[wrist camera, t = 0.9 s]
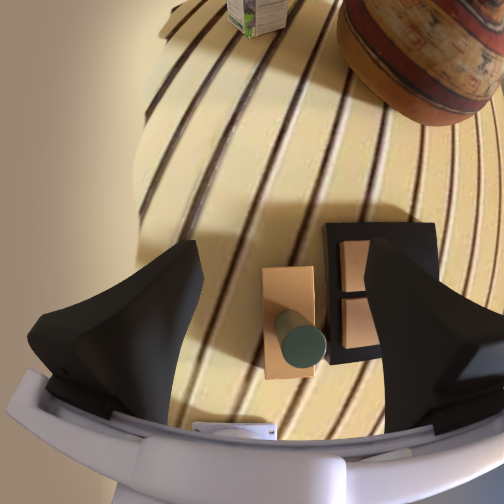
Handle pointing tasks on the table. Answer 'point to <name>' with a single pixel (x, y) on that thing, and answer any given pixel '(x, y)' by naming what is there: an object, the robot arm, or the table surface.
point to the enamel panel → (407, 241)
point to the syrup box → (257, 15)
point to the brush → (290, 323)
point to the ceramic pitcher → (426, 54)
